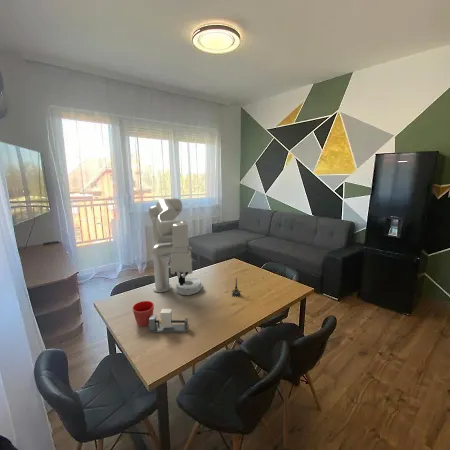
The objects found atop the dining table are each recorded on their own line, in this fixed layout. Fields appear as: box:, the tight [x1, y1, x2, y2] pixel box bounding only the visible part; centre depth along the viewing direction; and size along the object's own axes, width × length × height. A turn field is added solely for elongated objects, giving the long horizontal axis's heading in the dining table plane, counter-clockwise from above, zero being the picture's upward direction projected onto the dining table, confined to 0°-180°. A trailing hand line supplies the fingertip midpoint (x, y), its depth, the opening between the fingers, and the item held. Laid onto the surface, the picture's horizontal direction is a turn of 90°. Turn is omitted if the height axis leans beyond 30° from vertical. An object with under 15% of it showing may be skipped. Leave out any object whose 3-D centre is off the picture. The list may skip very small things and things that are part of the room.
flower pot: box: [132, 300, 155, 327], centre depth 131 cm, size 11×11×10 cm
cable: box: [175, 276, 203, 296], centre depth 169 cm, size 18×18×6 cm
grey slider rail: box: [148, 314, 190, 334], centre depth 126 cm, size 19×6×7 cm, turn 90°
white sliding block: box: [159, 308, 173, 327], centre depth 125 cm, size 5×4×8 cm
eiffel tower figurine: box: [224, 277, 242, 298], centre depth 161 cm, size 15×10×13 cm
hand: (182, 284), depth 121 cm, fingers closed
